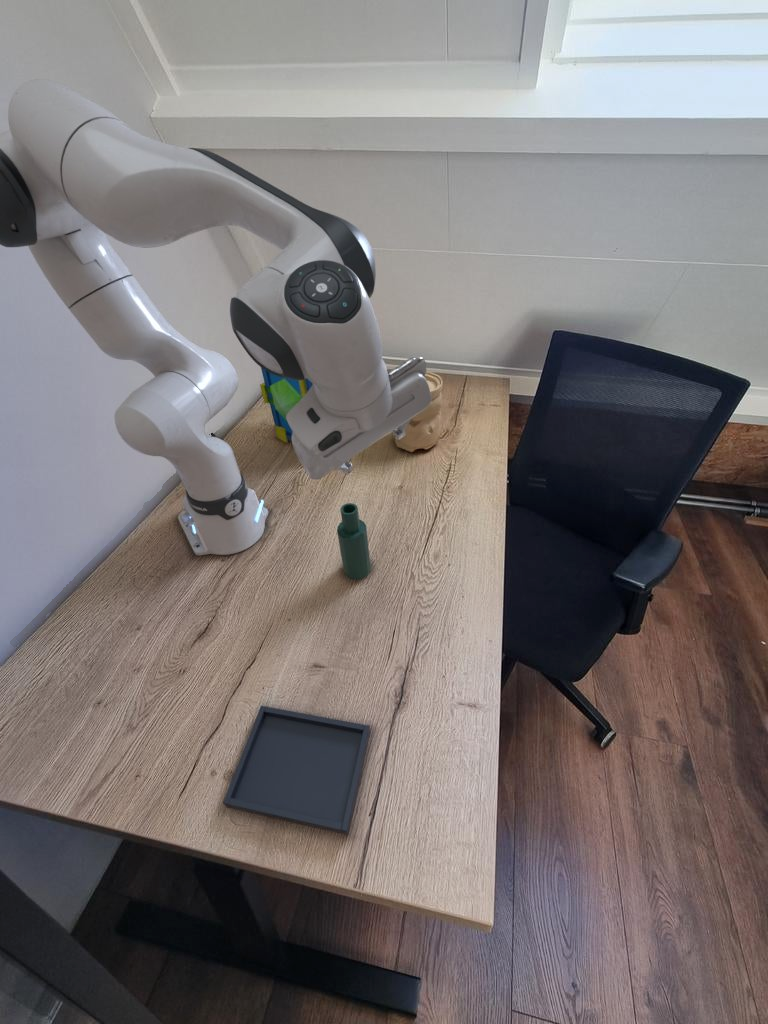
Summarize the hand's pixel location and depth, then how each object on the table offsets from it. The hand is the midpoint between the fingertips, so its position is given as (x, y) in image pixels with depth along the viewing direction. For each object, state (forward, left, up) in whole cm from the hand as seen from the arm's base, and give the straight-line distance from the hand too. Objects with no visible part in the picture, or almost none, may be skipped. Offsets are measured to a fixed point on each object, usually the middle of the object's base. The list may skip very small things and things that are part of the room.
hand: (373, 452), depth 68 cm
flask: (-7, -1, -33) cm, 33 cm away
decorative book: (-51, +22, -33) cm, 65 cm away
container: (-29, +42, -33) cm, 61 cm away
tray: (+15, -32, -33) cm, 48 cm away
